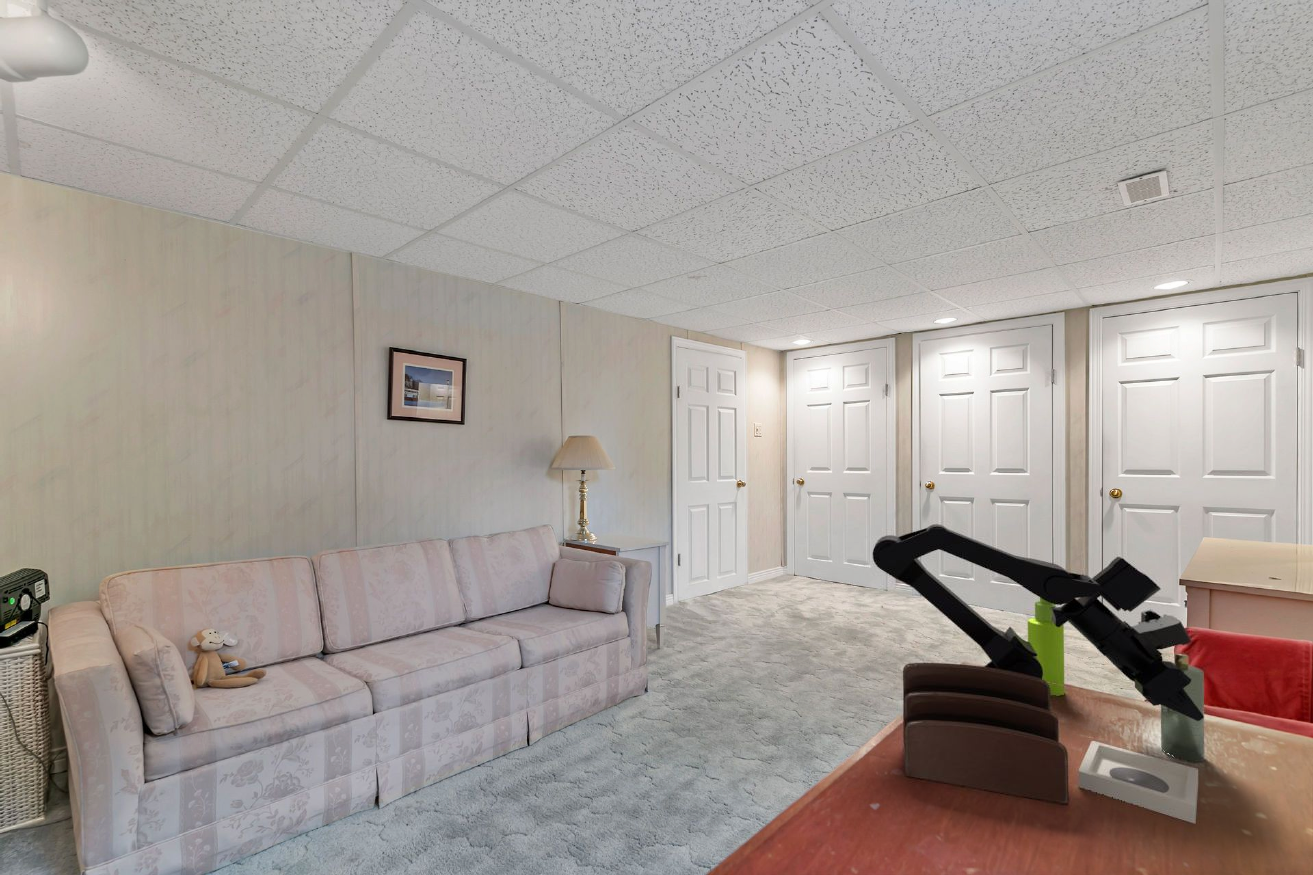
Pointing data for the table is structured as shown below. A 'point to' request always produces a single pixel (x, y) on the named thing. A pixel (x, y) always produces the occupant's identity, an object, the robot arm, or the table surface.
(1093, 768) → the tray
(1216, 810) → the table surface
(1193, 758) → the green bottle
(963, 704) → the letter holder
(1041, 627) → the soap dispenser
